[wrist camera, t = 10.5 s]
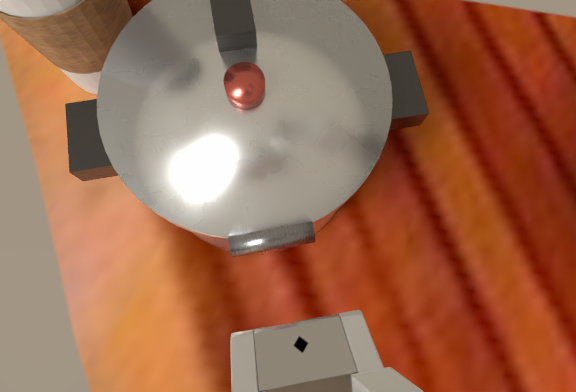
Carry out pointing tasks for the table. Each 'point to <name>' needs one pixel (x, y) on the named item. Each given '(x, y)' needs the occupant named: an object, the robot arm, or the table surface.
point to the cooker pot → (95, 164)
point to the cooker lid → (245, 115)
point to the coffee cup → (70, 32)
